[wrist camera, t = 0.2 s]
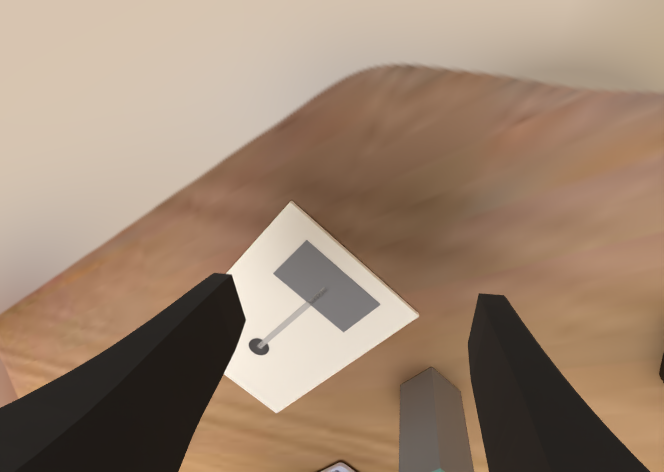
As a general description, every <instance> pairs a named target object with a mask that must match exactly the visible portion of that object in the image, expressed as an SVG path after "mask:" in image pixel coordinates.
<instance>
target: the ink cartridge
mask: <svg viewBox="0 0 664 472" xmlns="http://www.w3.org/2000/svg"><path fill="white" fill-rule="evenodd" d="M660 377H661V379H662V380H663V382H664V354H663V359H662V364H661V368H660Z"/></svg>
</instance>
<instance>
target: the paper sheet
mask: <svg viewBox="0 0 664 472" xmlns="http://www.w3.org/2000/svg"><path fill="white" fill-rule="evenodd" d="M226 274H232V277H233V280H234V283H235V286H236V290H237V293H238V296H239V299H240V302H241V305H242V309H243V312H244V315H245V318H246V322H245V325H244V328H243V331H242V334H241V337H240V339H239V342H238V345H237V347H236V350H235V352H234V354H233V356H232V358H231V360H230V362H229V364H228V366H227V368H226V370H225V372H224V374H225V375H226V376H227V377H229V378H230V379H231V380H233V381H234V382H235V383H237V384H238V385H239V386H241V387H242V388H243V389H245V390H246V391H247V392H249V393H250V394H251V395H253V396H254V397H255V398H257V399H258V400H259V401H261V402H262V403H263V404H265V405H266V406H267V407H269V408H270V409H271V410H273V411H274V412H275V413H278V412H279V411H281V410H282V409H284V408H285V407H287V406H288V405H290V404H291V403H293V402H294V401H296V400H297V399H299V398H300V397H301V396H303V395H304V394H306V393H307V392H309V391H310V390H312V389H313V388H315V387H316V386H318V385H319V384H321V383H322V382H323V381H325V380H326V379H328V378H329V377H331V376H332V375H334V374H335V373H337V372H338V371H340V370H341V369H343V368H344V367H345V366H347V365H348V364H350V363H351V362H353V361H354V360H356V359H357V358H359V357H360V356H362V355H363V354H365V353H366V352H368V351H369V350H370V349H372V348H373V347H375V346H376V345H378V344H379V343H381V342H382V341H384V340H385V339H387V338H388V337H390V336H391V335H392V334H394V333H395V332H397V331H398V330H400V329H401V328H403V327H404V326H406V325H407V324H409V323H410V322H412V321H413V320H415V319H416V318H417V317H419V313H418V312H417V311H416V310H415V309H413V308H412V307H411V306H410V305H409V304H408V303H407V302H406V301H404V300H403V299H402V298H401V297H400V296H399V295H398V294H397V293H395V292H394V291H393V290H392V289H391V288H390V287H389V286H388V285H386V284H385V283H384V282H383V281H382V280H381V279H380V278H379V277H377V276H376V275H375V274H374V273H373V272H372V271H371V270H370V269H368V268H367V267H366V266H365V265H364V264H363V263H362V262H360V261H359V260H358V259H357V258H356V257H355V256H354V255H353V254H351V253H350V252H349V251H348V250H347V249H346V248H345V247H344V246H342V245H341V244H340V243H339V242H338V241H337V240H336V239H335V238H333V237H332V236H331V235H330V234H329V233H328V232H327V231H326V230H324V229H323V228H322V227H321V226H320V225H319V224H318V223H317V222H315V221H314V220H313V219H312V218H311V217H310V216H309V215H308V214H306V213H305V212H304V211H303V210H302V209H301V208H300V207H298V206H297V205H296V204H295V203H294V202H293V201H292V200H291V201H290V202H289V204H288V205H287V206H286V207H285V208H284V209H283V210H282V211H281V213H280V214H279V215H278V216H277V217H276V218H275V219H274V220H273V222H272V223H271V224H270V225H269V226H268V227H267V228H266V229H265V230H264V232H263V233H262V234H261V235H260V236H259V237H258V238H257V239H256V241H255V242H254V243H253V244H252V245H251V246H250V247H249V248H248V250H247V251H246V252H245V253H244V254H243V255H242V256H241V257H240V258H239V260H238V261H237V262H236V263H235V264H234V265H233V266H232V267H231V269H230V270H229V271H228V272H227V273H226Z"/></svg>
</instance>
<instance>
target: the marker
mask: <svg viewBox="0 0 664 472" xmlns="http://www.w3.org/2000/svg"><path fill="white" fill-rule="evenodd" d="M399 472H474V469H473V463H472V457H471V451H470V445H469V439H468V433H467V427H466V421H465V415H464V409H463V403H462V397H461V391H459V390H458V389H457V388H456V387H455V386H454V385H452V384H451V383H450V382H449V381H448V380H447V379H445V378H444V377H443V376H442V375H441V374H440V373H438V372H437V371H436V370H435V369H434V368H433V367H431V368H429V369H427V370H425V371H424V372H422V373H420V374H419V375H417V376H415V377H413V378H412V379H410V380H408V381H407V382H405V383H403V384H401V385H400V435H399Z"/></svg>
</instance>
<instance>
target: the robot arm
mask: <svg viewBox="0 0 664 472" xmlns="http://www.w3.org/2000/svg"><path fill="white" fill-rule="evenodd" d="M245 322H246V318H245V315H244V312H243V309H242V305H241V302H240V299H239V296H238V293H237V290H236V286H235V283H234V280H233V277H232V274H219V273H213V274H212V275H211V276H209V277H208V278H206V279H205V280H203V281H202V282H201V283H199V284H198V285H197V286H195V287H194V288H192V289H191V290H190V291H188V292H187V293H186V294H184V295H183V296H182V297H181V298H179V299H178V300H177V301H175V302H174V303H172V304H171V305H170V306H168V307H167V308H166V309H164V310H163V311H162V312H160V313H159V314H158V315H156V316H155V317H154V318H152V319H151V320H149V321H148V322H146V323H145V324H144V325H142V326H141V327H139V328H138V329H136V330H135V331H133V332H132V333H130V334H129V335H128V336H126V337H125V338H123V339H122V340H120V341H119V342H117V343H116V344H114V345H113V346H111V347H110V348H108V349H107V350H105V351H103V352H102V353H100V354H99V355H97V356H95V357H94V358H92V359H90V360H89V361H87V362H85V363H84V364H82V365H80V366H79V367H77V368H75V369H74V370H72V371H70V372H68V373H67V374H65V375H63V376H61V377H59V378H57V379H55V380H54V381H52V382H50V383H48V384H46V385H44V386H42V387H40V388H39V389H37V390H35V391H33V392H31V393H29V394H27V395H25V396H24V397H22V398H20V399H18V400H16V401H14V402H12V403H10V404H7V405H5V406H4V407H1V408H0V472H178V471H179V469H180V466H181V464H182V461H183V459H184V456H185V454H186V451H187V449H188V446H189V444H190V441H191V439H192V436H193V434H194V432H195V429H196V427H197V425H198V423H199V421H200V419H201V417H202V415H203V413H204V411H205V409H206V407H207V405H208V403H209V401H210V399H211V397H212V395H213V393H214V392H215V390H216V388H217V386H218V384H219V382H220V380H221V378H222V376H223V374H224V372H225V370H226V368H227V366H228V364H229V362H230V360H231V358H232V356H233V354H234V352H235V350H236V347H237V345H238V342H239V339H240V337H241V334H242V331H243V328H244V325H245ZM468 352H469V364H470V375H471V383H472V388H473V393H474V398H475V403H476V408H477V413H478V418H479V423H480V428H481V433H482V438H483V443H484V448H485V453H486V458H487V463H488V468H489V472H650V471H649V470H648V469H647V468H646V467H645V466H644V465H643V464H642V463H641V462H640V461H639V460H638V459H637V458H636V457H635V456H634V455H633V454H632V453H631V452H630V451H629V450H628V449H627V447H626V446H625V445H624V444H623V443H622V442H621V441H620V440H619V439H618V438H617V437H616V436H615V435H614V434H613V433H612V432H611V431H610V429H609V428H608V427H607V426H606V425H605V424H604V423H603V422H602V421H601V419H600V418H599V417H598V416H597V415H596V414H595V413H594V412H593V411H592V409H591V408H590V407H589V406H588V405H587V404H586V402H585V401H584V400H583V399H582V398H581V397H580V395H579V394H578V393H577V392H576V391H575V390H574V388H573V387H572V386H571V385H570V383H569V382H568V381H567V380H566V379H565V377H564V376H563V375H562V374H561V372H560V371H559V370H558V368H557V367H556V366H555V365H554V363H553V362H552V361H551V359H550V358H549V357H548V356H547V354H546V353H545V352H544V351H543V349H542V348H541V346H540V345H539V344H538V342H537V341H536V340H535V338H534V337H533V336H532V334H531V333H530V331H529V330H528V329H527V327H526V326H525V324H524V323H523V322H522V320H521V319H520V317H519V316H518V314H517V313H516V311H515V310H514V309H513V307H512V306H511V304H510V303H509V301H508V300H507V298H506V297H505V296H504V295H492V294H479V296H478V300H477V305H476V309H475V314H474V318H473V323H472V327H471V332H470V336H469V341H468ZM321 472H355V471H354V470H352V469H351V468H350V467H348V466H347V465H346V464H344V463H337V464H335V465H333V466H331V467H329V468H327V469H325V470H323V471H321Z"/></svg>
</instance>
